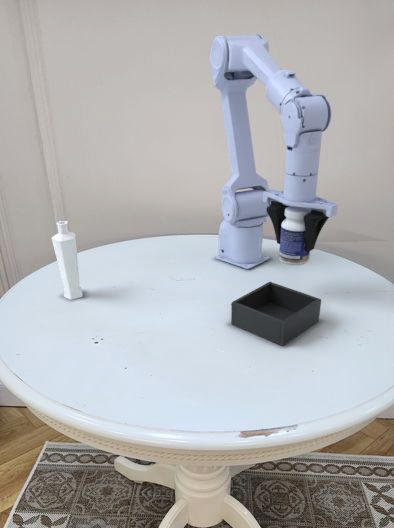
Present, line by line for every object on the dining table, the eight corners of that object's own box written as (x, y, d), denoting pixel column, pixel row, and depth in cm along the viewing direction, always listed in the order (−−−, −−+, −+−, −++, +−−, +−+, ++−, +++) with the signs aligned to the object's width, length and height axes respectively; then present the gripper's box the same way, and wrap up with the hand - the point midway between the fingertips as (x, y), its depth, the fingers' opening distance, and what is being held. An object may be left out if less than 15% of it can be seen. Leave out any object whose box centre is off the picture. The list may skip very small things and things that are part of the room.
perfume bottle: (90, 294, 107) (80, 221, 99) (72, 302, 104) (60, 228, 96) (76, 287, 110) (65, 216, 102) (58, 295, 107) (45, 222, 99)
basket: (231, 324, 95) (231, 302, 93) (268, 302, 102) (269, 281, 100) (282, 346, 89) (284, 322, 87) (318, 321, 96) (321, 299, 93)
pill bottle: (308, 267, 99) (313, 214, 93) (277, 265, 100) (281, 213, 94) (309, 255, 104) (314, 204, 98) (279, 253, 104) (282, 203, 99)
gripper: (350, 174, 91) (340, 249, 98) (280, 161, 99) (276, 231, 107) (328, 182, 87) (320, 260, 94) (257, 169, 95) (254, 241, 102)
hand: (295, 246), depth 100 cm, fingers closed on pill bottle, 6 cm apart
